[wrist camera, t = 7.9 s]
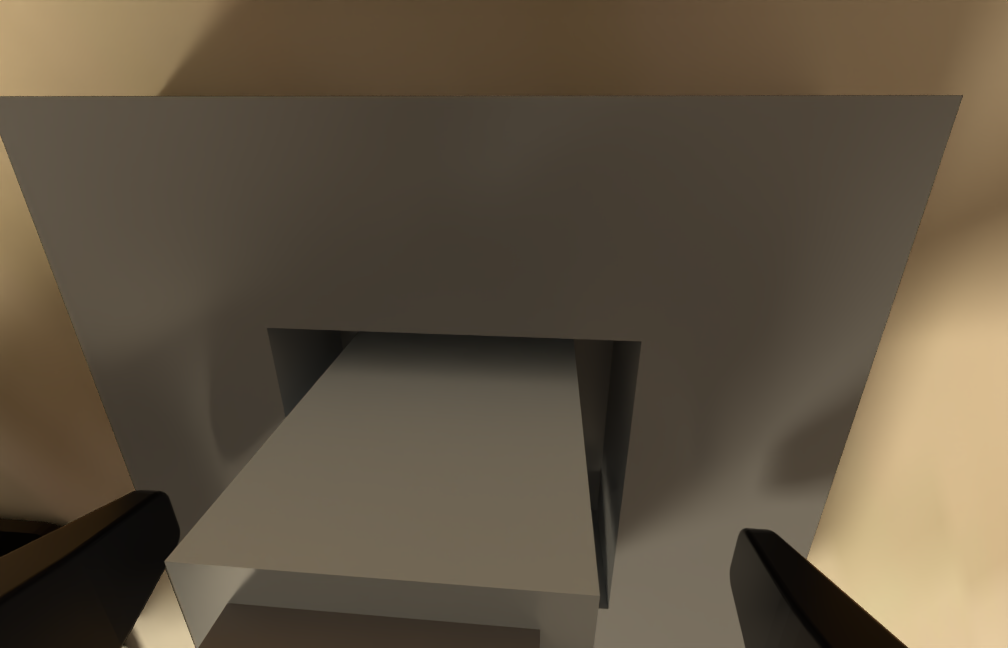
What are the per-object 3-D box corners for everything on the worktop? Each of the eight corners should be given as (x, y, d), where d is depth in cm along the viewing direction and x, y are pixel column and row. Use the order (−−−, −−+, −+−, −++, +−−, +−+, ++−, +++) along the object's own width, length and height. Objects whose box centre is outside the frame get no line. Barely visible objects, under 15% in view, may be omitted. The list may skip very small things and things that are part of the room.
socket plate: (273, 568, 14) (207, 679, 11) (152, 99, 9) (-14, 96, 7) (707, 600, 13) (748, 730, 10) (826, 99, 8) (963, 95, 6)
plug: (390, 471, 12) (125, 1076, 4) (373, 314, 10) (-89, 859, 3) (561, 481, 11) (581, 1151, 4) (571, 321, 10) (636, 956, 2)
